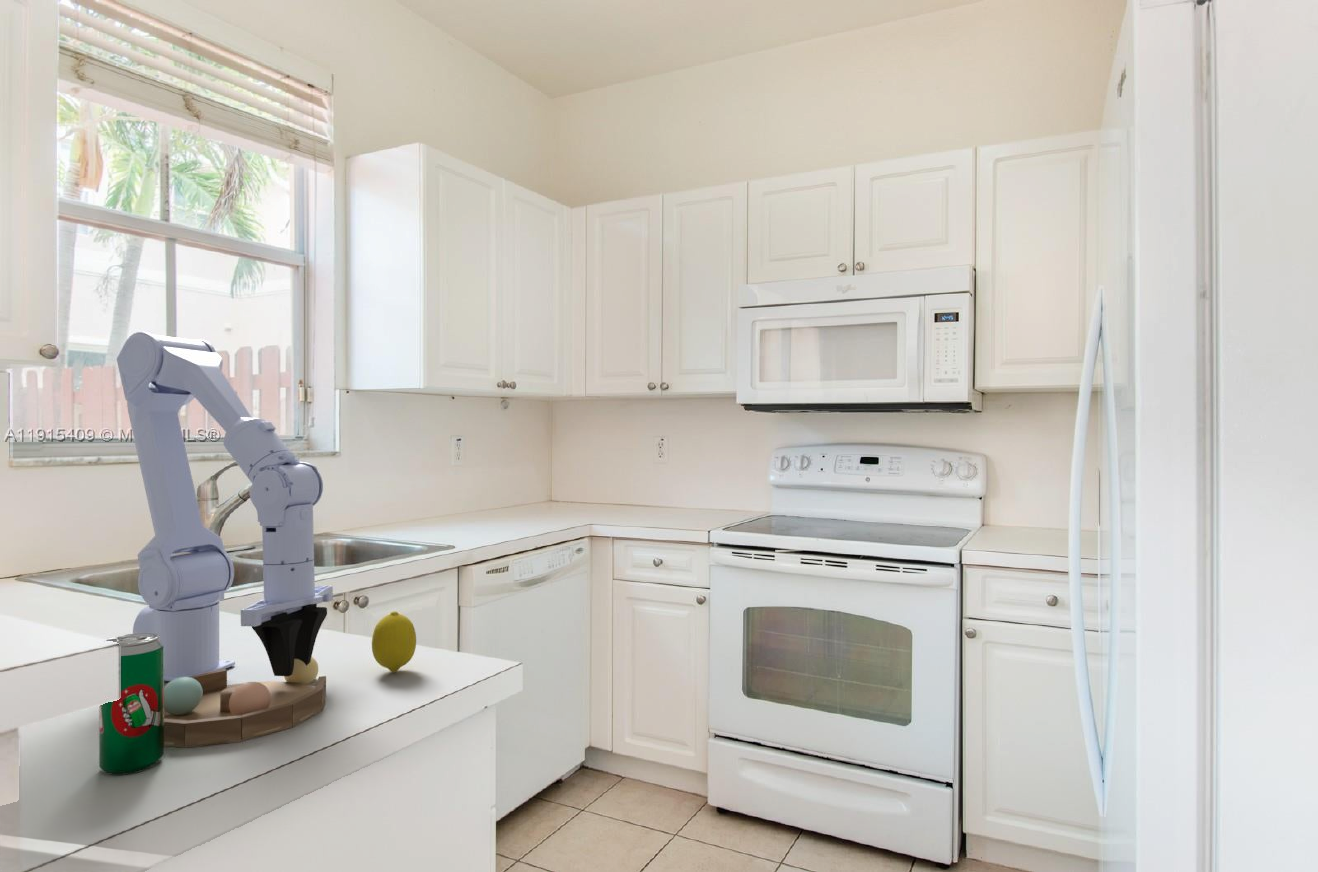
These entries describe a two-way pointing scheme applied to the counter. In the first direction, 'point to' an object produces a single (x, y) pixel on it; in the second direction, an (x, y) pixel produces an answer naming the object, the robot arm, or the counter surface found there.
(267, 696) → the bead terracotta
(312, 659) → the pale yellow ball
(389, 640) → the lemon
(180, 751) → the counter surface
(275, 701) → the groove tray
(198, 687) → the bead teal
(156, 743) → the soda can
